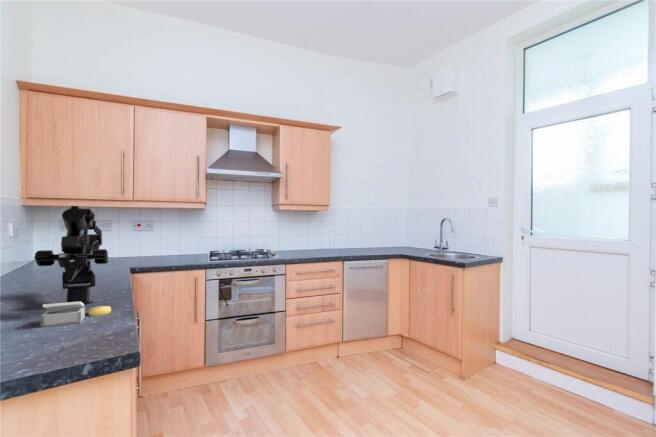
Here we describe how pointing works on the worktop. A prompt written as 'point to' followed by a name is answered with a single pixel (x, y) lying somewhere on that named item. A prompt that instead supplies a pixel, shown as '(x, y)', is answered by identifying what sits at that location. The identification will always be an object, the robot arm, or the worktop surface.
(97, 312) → the yellow rounded disc
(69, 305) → the lid
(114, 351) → the worktop surface
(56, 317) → the grey frame
